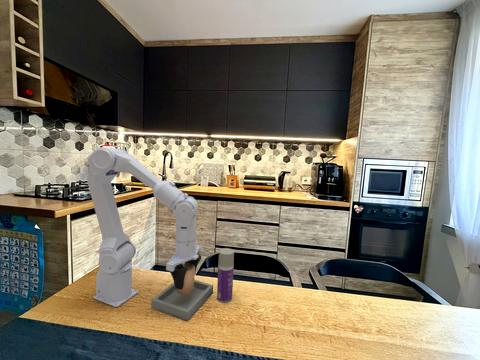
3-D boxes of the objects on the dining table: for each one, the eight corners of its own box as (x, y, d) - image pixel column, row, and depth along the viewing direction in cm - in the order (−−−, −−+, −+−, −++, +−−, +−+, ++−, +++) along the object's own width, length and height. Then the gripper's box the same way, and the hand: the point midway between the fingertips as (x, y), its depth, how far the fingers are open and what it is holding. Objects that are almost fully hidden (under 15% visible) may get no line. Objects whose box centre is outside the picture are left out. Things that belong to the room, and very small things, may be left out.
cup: (186, 297, 63) (187, 273, 63) (173, 291, 66) (173, 268, 65) (197, 288, 68) (198, 266, 67) (184, 283, 70) (185, 261, 69)
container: (229, 304, 66) (232, 255, 65) (214, 301, 67) (216, 253, 66) (233, 294, 71) (235, 249, 69) (219, 292, 72) (221, 247, 70)
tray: (151, 308, 63) (151, 299, 63) (181, 283, 76) (181, 276, 76) (187, 321, 59) (187, 312, 58) (213, 292, 72) (213, 285, 71)
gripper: (182, 250, 57) (181, 301, 59) (210, 234, 71) (208, 275, 72) (160, 245, 60) (159, 294, 61) (191, 230, 73) (189, 270, 75)
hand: (184, 283), depth 67 cm, fingers closed on cup, 5 cm apart
